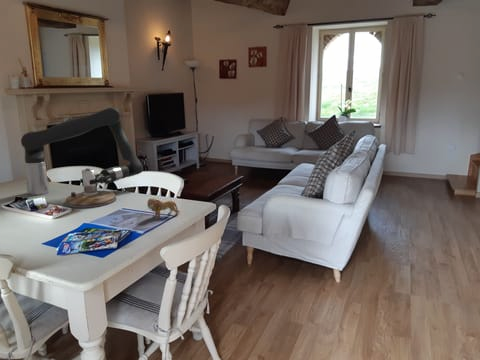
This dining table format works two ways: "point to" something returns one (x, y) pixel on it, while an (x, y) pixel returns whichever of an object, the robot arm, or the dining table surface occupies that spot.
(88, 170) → the canister
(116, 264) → the dining table surface
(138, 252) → the dining table surface
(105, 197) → the turntable
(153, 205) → the lion figurine
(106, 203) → the turntable base
